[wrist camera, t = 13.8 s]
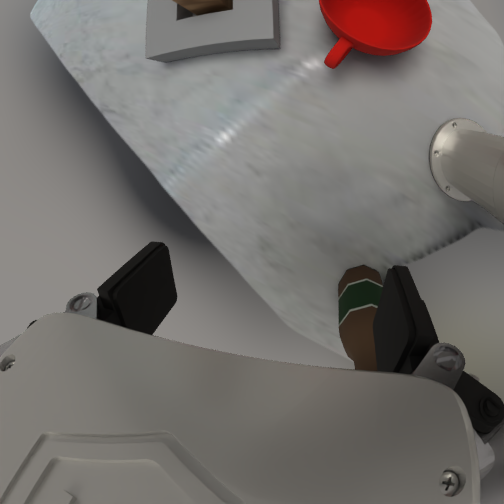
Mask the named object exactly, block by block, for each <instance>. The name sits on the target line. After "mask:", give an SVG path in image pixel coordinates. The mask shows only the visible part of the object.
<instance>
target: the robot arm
mask: <svg viewBox="0 0 504 504" xmlns="http://www.w3.org/2000/svg"><path fill="white" fill-rule="evenodd" d="M452 124H453V126H452ZM434 151H435V152H436V153H435V154H434ZM430 166H431V171H432V174H433V177H434V179H435V181H436V183H437V184H438V186H439V187H440V188H441V189H442V190H443V191H444V192H445V193H446V194H447V195H449V196H450V197H451V198H454V199H456V200H459V201H472V200H473V201H474V202H476V203H477V204H478V205H480V206H481V207H483V208H484V209H485V210H486V211H488V212H489V213H490V214H492V215H493V216H494V217H495V218H497V219H498V220H499V221H501V222H502V223H503V224H504V137H501V136H497V135H493V134H488V133H487V132H486V131H485V130H484V129H483V128H482V127H481V126H480V125H478V124H477V123H476V122H473V121H471V120H468V119H463V118H456V119H451V120H449V121H447V122H445V123H444V124H443V125H442V126H440V128H439V129H438V130H437V131H436V133H435V135H434V137H433V140H432V143H431V147H430ZM446 186H447V188H446ZM97 290H98V293H99V296H98V297H96V296H95V295H94V294H93V293H87V292H86V293H81V294H78V295H76V296H74V297H73V298H72V299H70V300H69V302H68V303H67V306H66V311H65V312H63V313H52V314H48V315H45V316H43V317H41V318H40V319H38V320H35V321H33V322H32V323H30V325H29V326H28V328H27V329H26V330H25V332H23V333H22V334H21V335H19V336H17V337H15V338H13V339H11V340H10V341H8V342H6V343H4V344H2V345H1V346H0V504H503V503H504V404H503V402H502V400H501V399H500V398H499V397H498V396H497V395H496V394H495V393H493V392H492V391H491V390H489V389H488V388H487V387H485V386H484V385H482V384H481V383H480V382H478V381H477V380H475V379H474V378H473V377H471V376H470V375H468V374H467V373H466V372H464V371H463V370H464V367H465V358H464V356H463V354H462V352H461V351H460V350H459V349H458V348H457V347H455V346H453V345H451V344H449V343H439V340H438V337H437V334H436V332H435V329H434V326H433V324H432V321H431V318H430V315H429V313H428V310H427V307H426V305H425V303H424V301H423V300H421V298H420V296H419V293H418V290H417V288H416V286H415V283H414V281H413V279H412V276H411V274H410V272H409V269H408V267H406V266H396V265H394V266H393V267H392V269H390V268H389V269H388V271H387V275H386V279H385V282H384V286H383V290H382V293H381V297H380V301H379V304H378V307H377V311H376V314H375V317H374V321H373V335H374V344H375V353H376V363H377V371H366V370H354V369H341V368H329V367H319V366H310V365H302V364H294V363H287V362H279V361H273V360H266V359H260V358H254V357H248V356H243V355H237V354H232V353H227V352H222V351H216V350H212V349H207V348H202V347H198V346H194V345H189V344H185V343H181V342H177V341H172V340H169V339H164V338H161V337H157V336H153V335H152V334H153V333H154V332H155V330H156V329H157V327H158V326H159V325H160V323H161V322H162V321H163V319H164V318H165V317H166V315H167V314H168V312H169V311H170V310H171V308H172V307H173V306H174V304H175V303H176V301H177V292H176V288H175V282H174V278H173V272H172V266H171V260H170V255H169V250H168V247H167V246H165V244H164V243H162V242H150V243H149V244H148V245H147V246H145V247H144V248H143V249H142V250H141V251H139V252H138V253H137V254H136V255H135V256H134V257H132V258H131V259H130V260H129V261H128V262H127V263H125V264H124V265H123V266H122V267H121V268H120V269H119V270H118V271H117V272H115V273H114V274H113V275H112V276H111V277H110V278H109V279H107V280H106V281H105V282H104V283H103V284H102V285H101V286H100V287H99V288H98V289H97Z"/></svg>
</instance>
